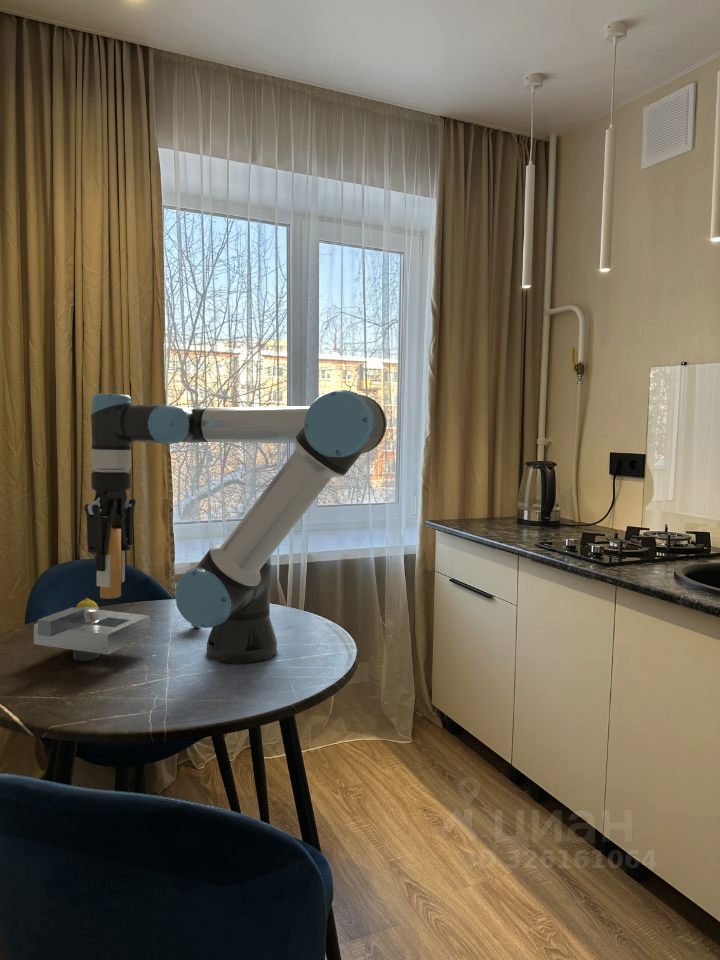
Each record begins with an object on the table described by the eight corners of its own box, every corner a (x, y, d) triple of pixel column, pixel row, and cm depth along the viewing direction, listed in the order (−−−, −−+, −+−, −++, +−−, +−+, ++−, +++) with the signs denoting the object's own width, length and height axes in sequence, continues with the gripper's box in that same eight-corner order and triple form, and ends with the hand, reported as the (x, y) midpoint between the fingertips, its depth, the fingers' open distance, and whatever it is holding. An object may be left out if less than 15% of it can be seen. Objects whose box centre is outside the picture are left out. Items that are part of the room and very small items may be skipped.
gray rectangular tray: (149, 652, 142) (149, 602, 141) (90, 683, 124) (90, 626, 123) (81, 642, 147) (80, 594, 146) (14, 671, 129) (14, 616, 128)
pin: (108, 593, 138) (108, 526, 137) (124, 594, 137) (125, 528, 136) (95, 597, 134) (96, 529, 133) (112, 599, 133) (113, 530, 132)
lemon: (90, 636, 151) (90, 602, 151) (68, 634, 153) (68, 600, 152) (104, 629, 157) (104, 596, 156) (83, 627, 158) (83, 594, 157)
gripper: (121, 467, 143) (120, 573, 145) (66, 471, 127) (66, 591, 128) (151, 469, 141) (150, 576, 143) (99, 473, 125) (99, 595, 126)
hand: (110, 583), depth 135 cm, fingers closed on pin, 4 cm apart
